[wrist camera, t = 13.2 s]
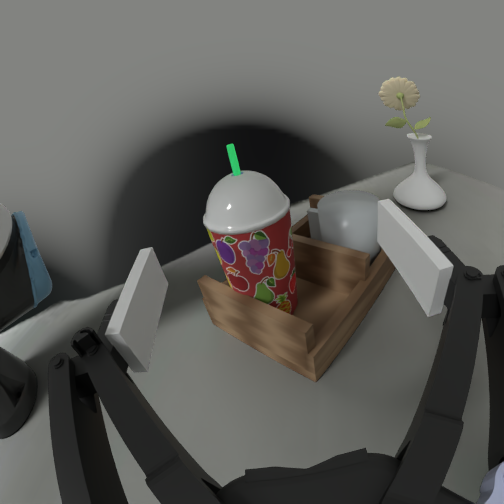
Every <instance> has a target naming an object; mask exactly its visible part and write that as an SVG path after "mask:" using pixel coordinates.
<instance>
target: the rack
mask: <svg viewBox="0 0 504 504" xmlns="http://www.w3.org/2000/svg"><path fill="white" fill-rule="evenodd" d="M323 197H324V196H320V195H312V196H310V197H309V201H310V208H315V209H318V207H317V204H318V202H319V200H320V199H322V198H323ZM292 238H293V249H294V260H295V272H296V285H297V297H298V304H297V306H296V309H295V311H294V313H293V315H291V314H288V313H286V312H284V311H282V310H279V309H277V308H275V307H273V306H270V305H268V304H266V303H264V302H261V301H259V300H257V299H255V298H253V297H250V296H248V295H243V294H240V293H238V292H236V291H234V290H233V289H232V288H231V287H230V285H229V282H228V280H227V279H226V280H225V281H224V282H222V283H220V282H218V281H216V280H214V279H212V278H210V277H208V276H206V275H204V276H203V277H202V278H200V279H199V280H198V281H197V282H198V284H199V287H200V289H201V292H202V294H203V296H204V297H203V298H202V299H203V302H204V304H205V306H206V309H207V311H208V313H209V316H210V318H211V320H212V322H213V324H214V325H216V326H218V327H219V328H221V329H222V330H224V331H226V332H227V333H229V334H231V335H232V336H234V337H236V338H237V339H239V340H241V341H242V342H244V343H246V344H247V345H249V346H251V347H253V348H254V349H256V350H258V351H259V352H261V353H263V354H265V355H266V356H268V357H270V358H272V359H274V360H275V361H277V362H279V363H281V364H283V365H284V366H286V367H288V368H290V369H292V370H294V371H295V372H297V373H299V374H301V375H303V376H305V377H307V378H309V379H311V380H313V381H314V382H317V381H318V379H319V378H320V377H321V376H322V374H323V373H324V372H325V371H326V369H327V368H328V367H329V365H330V364H331V363H332V362H333V360H334V359H335V358H336V356H337V355H338V354H339V352H340V351H341V350H342V348H343V347H344V345H345V344H346V343H347V341H348V340H349V339H350V337H351V336H352V334H353V333H354V332H355V330H356V329H357V327H358V326H359V324H360V323H361V321H362V320H363V319H364V317H365V316H366V314H367V313H368V311H369V310H370V308H371V307H372V305H373V304H374V302H375V300H376V299H377V297H378V296H379V294H380V293H381V291H382V289H383V288H384V286H385V285H386V283H387V281H388V280H389V278H390V277H391V275H392V273H393V272H394V270H395V268H396V267H395V266H394V264H393V263H392V262H391V260H390V259H389V257H388V256H387V254H386V253H385V252H384V250H383V249H382V247H381V252H380V253H379V255H378V256H377V258H376V259H375V261H374V262H373V263H372V265H371V266H370V254H369V253H365V252H361V251H357V250H354V249H350V248H346V247H342V246H338V245H335V244H331V243H327V242H323V241H320V240H316V239H312V238H311V234H310V227H309V220H308V214H307V215H306V216H305V217H304V218H302V219H301V220H300V221H299V222H297V223H296V224H295V225H294V226H292Z"/></svg>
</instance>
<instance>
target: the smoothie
mask: <svg viewBox="0 0 504 504" xmlns="http://www.w3.org/2000/svg"><path fill="white" fill-rule="evenodd" d="M227 150H228V154H229V158H230V162H231V166H232V170H233V173H231V174H229V175H227V176H226V177H224V178H223V179H222V180H220V181H219V182H218V183H217V184H216V186H214V188H213V190H212V192H211V193H210V195H209V198H208V201H207V206H206V213H205V215H204V217H203V222H204V225H205V227H206V228H207V230H208V233H209V236H210V238H211V241H212V243H213V246H214V248H215V251H216V253H217V256H218V258H219V261H220V263H221V265H222V268H223V270H224V273H225V275H226V277H227V280H228V282H229V285H230V287H231V288H232V289H233V290H234V291H236V292H238V293H240V294H243V295H248V296H250V297H253V298H255V299H257V300H259V301H261V302H264V303H266V304H268V305H270V306H273V307H275V308H277V309H279V310H282V311H284V312H286V313H288V314H291V315H293V313H294V311H295V309H296V306H297V304H298V297H297V285H296V272H295V260H294V249H293V238H292V227H291V217H290V200H289V199H288V198H287V196H286V195H285V194H283V193H282V192H281V190H280V189H279V187H278V186H277V185H276V184H275V183H274V182H273V181H272V180H271V179H270V178H268V177H267V176H265V175H263V174H260V173H258V172H253V171H240V169H239V164H238V161H237V156H236V152H235V148H234V144H229V145H227Z"/></svg>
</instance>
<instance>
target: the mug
mask: <svg viewBox="0 0 504 504" xmlns="http://www.w3.org/2000/svg"><path fill="white" fill-rule="evenodd" d="M378 201H380V199H379V198H378V197H377V196H375V195H374V194H372V193H369V192H365V191H359V190H345V191H338V192H334V193H331V194H328V195H326V196H324V197H323V198H322V199H320V200H319V202H318V204H317V207H318V209H315V208H310V209H309V210H308V211H307V213H308V220H309V227H310V234H311V238H312V239H316V240H320V241H323V242H327V243H331V244H335V245H338V246H342V247H346V248H350V249H354V250H357V251H361V252H365V253H369V254H370V266H371V265H372V263H373V262H374V261H375V259H376V258H377V256H378V255H379V253H380V252H381V246H380V245H379V243H378V242H377V233H378Z"/></svg>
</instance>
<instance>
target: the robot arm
mask: <svg viewBox="0 0 504 504" xmlns="http://www.w3.org/2000/svg"><path fill="white" fill-rule="evenodd" d="M377 242H378V243H379V245H380V246H381V247H382V249H383V250H384V252H385V253H386V254H387V256H388V257H389V259H390V260H391V262H392V263H393V264H394V266H395V267H396V269H397V270H398V272H399V273H400V275H401V276H402V278H403V279H404V280H405V282H406V283H407V285H408V287H409V288H410V290H411V291H412V293H413V294H414V296H415V297H416V299H417V300H418V302H419V304H420V305H421V307H422V308H423V310H424V312H425V313H426V315H427V316H428V317H430V316H433V315H436V314H439V313H441V311H442V308H443V305H444V304H445V306H446V307H447V309H448V310H447V313H446V316H445V319H444V322H443V325H444V326H443V330H442V334H441V338H440V342H439V345H438V349H437V353H436V356H435V359H434V363H433V366H432V369H431V372H430V375H429V378H428V381H427V384H426V387H425V390H424V393H423V395H422V398H421V401H420V403H419V406H418V409H417V411H416V414H415V416H414V418H413V421H412V423H411V426H410V428H409V430H408V432H407V435H406V437H405V439H404V441H403V443H402V444H401V446H400V448H399V450H398V452H397V454H396V455H395V457H392V456H388V455H385V454H379V453H367V450H366V448H363V449H360V450H356V451H352V452H349V453H345V454H340V455H337V456H335V457H332V458H330V459H328V460H326V461H324V462H322V463H319V464H317V465H315V466H313V467H310V468H307V469H300V468H285V467H267V468H257V469H246V470H245V475H244V476H241V477H239V478H237V479H235V480H233V481H231V482H229V483H228V484H227V485H225V486H224V487H221V486H220V485H219V484H218V483H217V482H216V481H215V480H214V479H213V478H211V477H210V476H209V475H208V474H207V473H206V472H205V471H204V470H203V469H202V468H201V467H200V465H199V464H198V463H197V462H196V461H195V460H194V459H193V458H192V457H191V455H190V454H189V453H188V452H187V451H186V450H185V449H184V447H183V446H182V445H181V444H180V443H179V442H178V440H177V439H176V438H175V437H174V435H173V434H172V433H171V432H170V431H169V429H168V428H167V427H166V426H165V424H164V423H163V422H162V420H161V419H160V418H159V416H158V415H157V414H156V413H155V411H154V410H153V408H152V407H151V406H150V404H149V403H148V402H147V400H146V399H145V397H144V396H143V395H142V393H141V392H140V390H139V389H138V387H137V386H136V385H135V383H134V382H133V380H132V379H131V377H130V376H129V374H128V373H127V368H128V366H129V367H130V368H131V369H132V371H133V372H148V368H149V363H150V358H151V354H152V349H153V345H154V340H155V336H156V332H157V327H158V323H159V319H160V315H161V311H162V307H163V303H164V299H165V295H166V291H167V288H168V282H167V279H166V277H165V275H164V273H163V271H162V268H161V266H160V264H159V262H158V260H157V257H156V255H155V253H154V250H153V248H152V247H151V248H146V249H142V250H140V252H139V254H138V257H137V259H136V261H135V263H134V265H133V267H132V270H131V272H130V274H129V276H128V279H127V281H126V283H125V286H124V288H123V290H122V293H121V295H120V297H119V299H117V300H114V301H113V302H112V303H111V304H110V306H109V307H108V309H107V311H106V314H105V316H104V318H103V322H102V323H101V326H100V328H99V331H98V333H97V334H96V333H95V331H94V330H93V329H92V328H89V327H87V328H83V329H81V330H79V331H78V332H77V333H76V334H75V335H74V336H73V338H72V341H71V346H72V347H73V349H74V350H75V351H76V352H77V353H78V355H79V356H76V357H74V358H71V359H70V357H69V356H68V355H67V354H66V353H59V354H57V355H56V356H54V357H53V358H52V360H51V361H50V363H49V367H48V394H49V416H50V429H51V439H52V448H53V456H54V463H55V469H56V475H57V480H58V485H59V490H60V495H61V499H62V504H128V501H127V499H126V496H125V493H124V490H123V487H122V484H121V481H120V478H119V475H118V472H117V469H116V466H115V462H114V459H113V455H112V452H111V448H110V444H109V441H108V437H107V433H106V428H105V424H104V420H103V415H102V410H101V406H100V401H99V397H100V399H101V401H102V403H103V405H104V407H105V409H106V411H107V413H108V415H109V416H110V418H111V420H112V422H113V424H114V425H115V427H116V429H117V431H118V432H119V434H120V436H121V437H122V439H123V441H124V442H125V444H126V446H127V447H128V449H129V450H130V452H131V454H132V455H133V457H134V458H135V460H136V461H137V463H138V464H139V466H140V467H141V469H142V470H143V472H144V473H145V475H146V477H147V478H146V479H145V481H146V484H147V485H148V487H149V488H150V490H151V491H152V492H153V494H154V495H155V496H156V498H157V499H158V500H159V502H160V503H161V504H474V503H473V502H471V501H469V500H467V499H465V498H463V497H461V496H459V495H457V494H456V493H454V492H452V491H450V490H448V489H447V488H445V487H443V486H441V485H442V483H443V481H444V479H445V476H446V474H447V472H448V469H449V467H450V464H451V461H452V459H453V456H454V453H455V451H456V448H457V445H458V442H459V439H460V436H461V433H462V429H463V421H462V415H463V411H464V408H465V404H466V400H467V396H468V392H469V388H470V384H471V379H472V374H473V369H474V364H475V359H476V353H477V347H478V340H479V333H480V324H481V318H482V323H483V329H484V336H485V344H486V352H487V362H488V375H489V395H490V427H489V446H488V467H489V472H488V473H487V474H486V475H485V477H484V479H483V481H482V485H481V486H480V497H479V499H478V501H477V502H476V504H504V265H502V266H499V267H497V269H496V271H495V274H494V275H483V274H482V273H481V271H479V270H478V269H477V268H474V267H471V266H465V265H464V264H463V263H462V262H461V261H460V260H459V259H458V257H457V256H456V255H455V254H454V253H453V252H451V250H450V249H449V248H448V247H447V246H446V245H445V244H444V242H443V241H442V240H440V239H439V238H437V237H435V236H433V235H432V236H428V237H427V236H426V235H425V234H424V233H423V232H422V231H421V230H420V229H419V228H418V227H417V226H416V224H415V223H414V222H413V221H412V220H411V219H410V218H409V217H408V216H407V215H405V214H404V213H403V212H402V211H401V210H400V209H399V208H398V207H397V206H396V205H395V204H394V203H393V202H392V201H391V200H390V199H386V200H380V201H378V233H377ZM51 290H52V281H51V279H50V277H49V274H48V272H47V270H46V267H45V265H44V263H43V260H42V258H41V256H40V253H39V251H38V248H37V246H36V244H35V241H34V238H33V236H32V233H31V230H30V228H29V225H28V222H27V220H26V217H25V214H24V212H22V211H19V212H14V213H13V214H12V216H11V214H10V212H9V210H8V209H7V208H6V207H5V206H4V205H3V204H1V203H0V331H2V330H3V329H4V328H5V327H7V326H8V325H10V324H11V323H13V322H14V321H15V320H17V319H18V318H20V317H21V316H22V315H24V314H25V313H27V312H28V311H30V310H31V309H32V308H35V307H36V306H37V304H38V303H39V302H40V301H42V300H43V299H44V298H45V297H47V296H48V295H49V294H50V292H51ZM36 393H37V379H36V376H35V374H34V372H33V371H32V370H31V369H30V367H29V366H28V365H27V364H26V363H25V362H24V361H22V360H21V359H19V358H18V357H16V356H14V355H13V354H11V353H10V352H8V351H6V350H5V349H3V348H2V347H0V438H5V437H8V436H10V435H11V434H13V433H14V432H16V431H17V430H18V429H19V428H20V427H21V426H22V424H23V423H24V422H25V420H26V419H27V417H28V415H29V414H30V412H31V409H32V407H33V404H34V401H35V398H36Z"/></svg>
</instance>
